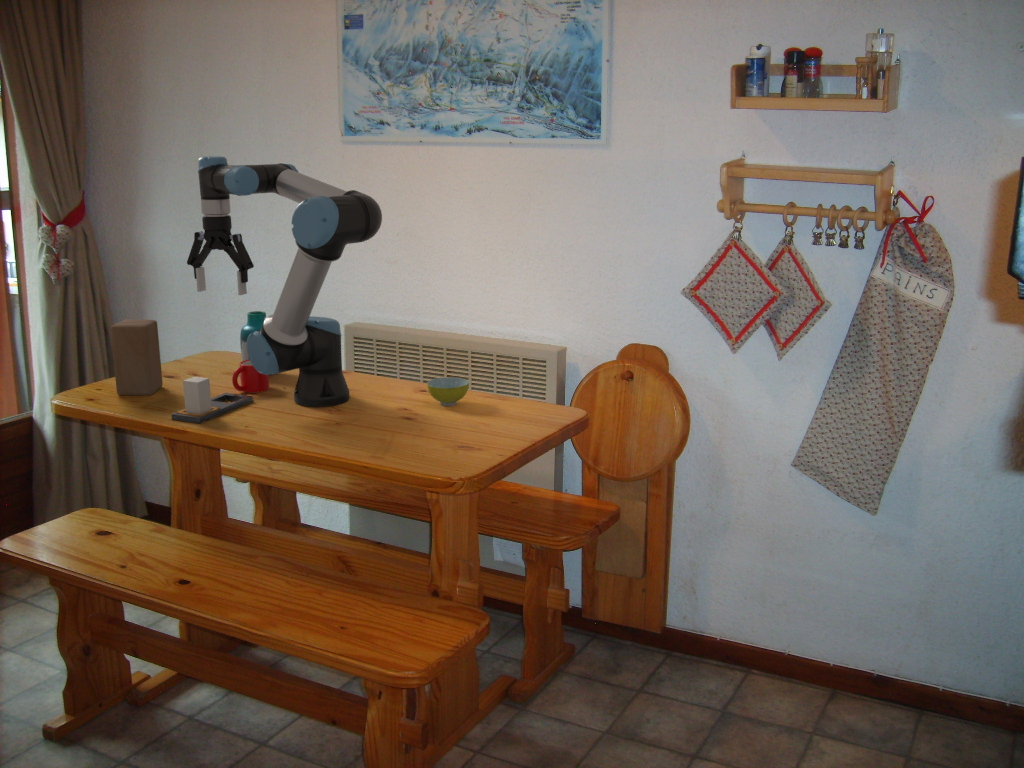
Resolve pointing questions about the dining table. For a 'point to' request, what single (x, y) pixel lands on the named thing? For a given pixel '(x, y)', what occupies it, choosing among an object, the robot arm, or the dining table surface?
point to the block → (136, 357)
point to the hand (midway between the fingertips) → (222, 292)
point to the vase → (250, 330)
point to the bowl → (448, 390)
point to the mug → (250, 378)
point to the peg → (197, 395)
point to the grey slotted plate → (214, 408)
